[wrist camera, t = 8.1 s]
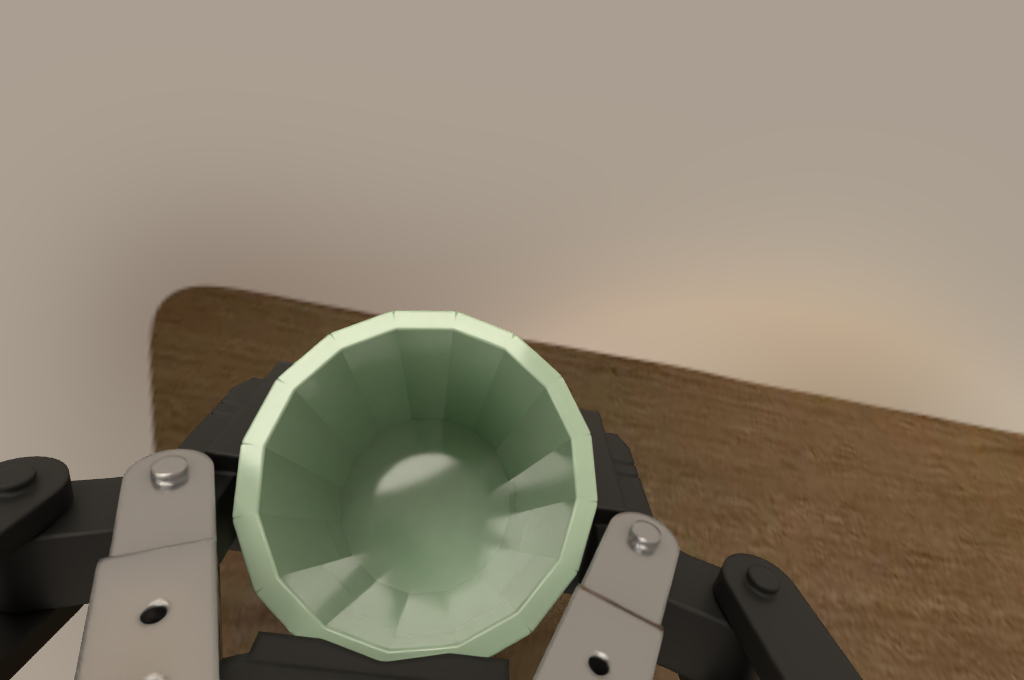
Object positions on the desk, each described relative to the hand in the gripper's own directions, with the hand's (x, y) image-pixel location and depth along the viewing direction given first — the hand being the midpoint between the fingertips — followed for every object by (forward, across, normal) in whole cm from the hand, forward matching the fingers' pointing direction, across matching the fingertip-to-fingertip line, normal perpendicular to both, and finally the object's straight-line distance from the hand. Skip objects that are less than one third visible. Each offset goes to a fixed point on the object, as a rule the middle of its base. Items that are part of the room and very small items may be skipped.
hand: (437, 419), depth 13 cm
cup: (+3, 0, +5) cm, 6 cm away
